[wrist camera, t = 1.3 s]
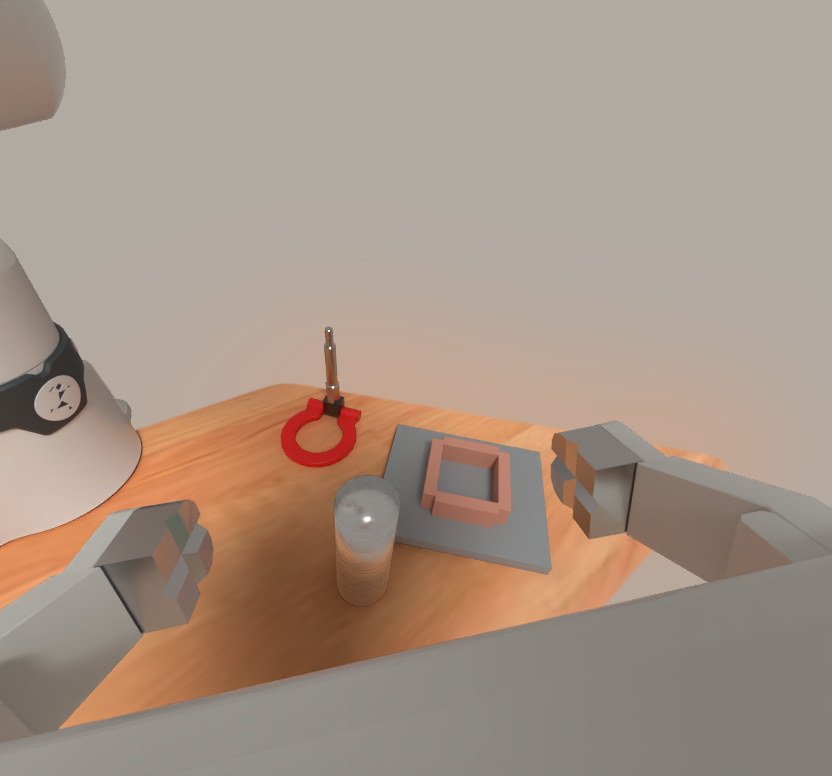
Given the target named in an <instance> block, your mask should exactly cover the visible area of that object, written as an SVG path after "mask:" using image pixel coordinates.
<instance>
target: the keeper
mask: <svg viewBox="0 0 832 776" xmlns="http://www.w3.org/2000/svg"><path fill="white" fill-rule="evenodd" d="M383 479H385V480H387V481H388V482H389V483H391V484H392V485H393V486H394V488H395V489H396V491H397V493H398V495H399V499H400V508H399V515H398V521H397V527H396V534H395V540H394V542H397V543H402V544H406V545H411V546H416V547H421V548H425V549H430V550H435V551H439V552H444V553H449V554H453V555H458V556H463V557H467V558H472V559H477V560H481V561H486V562H491V563H496V564H500V565H505V566H510V567H514V568H519V569H524V570H528V571H533V572H538V573H542V574H548V573H549V572H550V570H551V569H552V567H551V558H550V548H549V538H548V529H547V519H546V509H545V499H544V490H543V480H542V470H541V461H540V452H536V451H531V450H526V449H521V448H516V447H511V446H506V445H500V444H495V443H490V442H485V441H480V440H475V439H470V438H465V437H460V436H455V435H450V434H445V433H440V432H435V431H430V430H425V429H420V428H415V427H410V426H405V425H400V424H398V427H397V431H396V434H395V438H394V442H393V445H392V449H391V452H390V456H389V460H388V463H387V467H386V471H385V474H384V478H383Z"/></svg>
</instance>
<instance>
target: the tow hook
mask: <svg viewBox="0 0 832 776" xmlns="http://www.w3.org/2000/svg"><path fill="white" fill-rule="evenodd" d="M325 337H326V343H325V345H324V350H325V363H326V376H327V382H326V392H327V395H326V397H325V398H324V400H323V401H321V400H317V399H313V398H310V399H309V400H308V403H307V408H306V410H304V411H301V412H300V413H298V414H296V415H295V416H293V417H292V418H291V419H290V420H289V421H288V422H287V423H286V425H285V426H284V428H283V430H282V434H281V444H282V448H283V450H284V452H285V454H286V455H287V456H288V457H289V458H290V459H291V460H292V461H294V462H296V463H298V464H300V465H304V466H308V467H324V466H329V465H332V464H334V463H336V462H339V461H340V460H342V459H343V458H345V457H346V456H347V455H348V454H349V453H350V451H351V450H352V449H353V447H354V444H355V442H356V428H355V423H356V422H358V421H359V419H360V417H361V411H359V410H355V409H351V408H348V407H344V397H341V396H340V392H339V383H338V381H337V365H336V346H335V343H333V329H332V328H331V327H326V328H325ZM323 413H324V414H326V415H330V416H334V417H338V420H337V422H338V425H339V426H340V428H341V429H342V431H343V437H342V439H341V441H340V443H339V444H338V445H337V446H336V447H334V448H333V449H331V450H328V451H326V452H321V453H312V452H308V451H305V450H303V449H301V448H300V447H299V446H298V445H297V443H296V441H295V437H296V434H297V432H298V430H299V429H300V428H301V427H302V426H303V425H305V424H306V423H308V422H311V421H313V420H318V419H320V418H321V416H322V414H323Z"/></svg>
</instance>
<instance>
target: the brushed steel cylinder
mask: <svg viewBox="0 0 832 776" xmlns="http://www.w3.org/2000/svg"><path fill="white" fill-rule="evenodd" d="M399 508H400V499H399V495H398V493H397V491H396V489H395V488H394V486H393V485H392V484H391V483H389V482H388V481H387V480H385V479H383V478H380V477H377V476H372V475H364V476H358V477H355V478H353V479H350V480H349V481H347V482H346V483H344V484H343V485H342V486H341V488H340V489H339V490H338V492H337V494H336V497H335V501H334V512H335V540H336V567H337V587H338V591H339V593H340V595H341V597H342V598H343V599H344V600H345V601H346V602H347V603H349V604H351V605H353V606H357V607H365V606H370V605H372V604H374V603H376V602H377V601H378V600H379V599H380V598H381V597H382V596H383V595H384V593H385V591H386V589H387V585H388V579H389V572H390V566H391V559H392V553H393V547H394V540H395V534H396V527H397V521H398V515H399Z"/></svg>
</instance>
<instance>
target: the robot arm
mask: <svg viewBox="0 0 832 776" xmlns="http://www.w3.org/2000/svg"><path fill="white" fill-rule="evenodd" d="M65 78H66V68H65V58H64V53H63V48H62V44H61V41H60V38H59V35H58V32H57V29H56V27H55V24H54V22H53V19H52V17H51V15H50V13H49V11H48V8H47V7H46V5H45V3H44V1H43V0H0V131H1V130H6V129H11V128H15V127H19V126H23V125H27V124H31V123H35V122H38V121H42V120H47V119H50V118H52V117H53V116H54V114H55V113H56V111H57V109H58V107H59V105H60V102H61V100H62V98H63V93H64V88H65ZM77 351H78V350H77V348H76V346H75V344H74V342H73V341H72V340H71V339H70V338H69V337H68V336H67V334H66V333H65V331H64V329H63V328H62V327H60V325H58V324H56V323H54V322H53V321H52V320H51V318H50V316H49V314H48V312H47V311H46V309H45V307H44V305H43V303H42V302H41V300H40V298H39V296H38V294H37V293H36V291H35V289H34V287H33V285H32V284H31V282H30V280H29V278H28V276H27V275H26V273H25V271H24V269H23V268H22V266H21V264H20V262H19V261H18V259H17V257H16V255H15V253H14V252H13V251H12V250H11V248H10V247H8V245H7V244H6V243H5V242H3V241H2V240H1V239H0V546H1V545H3V544H5V543H7V542H9V541H11V540H14V539H17V538H20V537H24V536H27V535H31V534H35V533H39V532H42V531H46V530H49V529H52V528H55V527H57V526H60V525H62V524H65V523H67V522H69V521H72V520H74V519H76V518H78V517H80V516H82V515H84V514H85V513H87V512H89V511H90V510H92V509H94V508H95V507H97V506H98V505H100V504H101V503H103V502H104V501H105V500H107V499H108V498H109V497H110V496H112V495H113V494H114V493H115V492H116V491H117V490H118V489H119V488H120V487H121V486H122V485H123V484H124V483H125V482H126V481H127V479H128V478H129V477H130V475H131V474H132V473H133V471H134V469H135V468H136V466H137V463H138V461H139V458H140V454H141V441H140V438H139V436H138V434H137V432H136V431H135V430H134V428H133V427H132V425H131V423H130V420H131V408H130V407H129V405H128V404H127V402H126V401H124V400H118V399H115V398H114V396H113V395H112V393H111V392H110V390H109V389H108V387H107V386H106V385H105V383H104V382H103V380H102V379H101V377H100V376H99V375H98V373H97V372H96V371H95V369H94V368H93V366H92V365H91V364H90V363H89V362H88V361H86V360H81V358H80V356H79V354H78V352H77ZM552 450H553V451H554V453H555V454H556V455H557V457H556V458H555V460H554V461H553V463H552V464H551V479H552V483H553V488H554V490H555V492H556V494H557V496H558V498H559V499H560V501H561V502H562V503H563V504H564V505H566V506H568V507H570V508H573V518H574V520H575V521H576V523H577V524H578V525H579V527H580V528H581V529H582V531H583V532H584V533H585V535H586V536H587V537H588V539H593V538H599V537H604V536H610V535H615V534H621V533H627V535H628V536H630V537H632V538H634V539H635V540H637V541H639V542H640V543H642V544H644V545H645V546H647V547H649V548H651V549H652V550H654V551H656V552H657V553H659V554H661V555H663V556H664V557H666V558H668V559H669V560H671V561H673V562H675V563H676V564H678V565H680V566H681V567H683V568H685V569H686V570H688V571H690V572H692V573H693V574H695V575H697V576H698V577H700V578H702V579H703V580H705V581H707V582H708V583H704V584H700V585H695V586H691V587H686V588H682V589H677V590H673V591H668V592H664V593H660V594H655V595H651V596H646V597H642V598H637V599H633V600H629V601H625V602H620V603H615V604H611V605H606V606H602V607H598V608H593V609H589V610H584V611H580V612H576V613H571V614H567V615H562V616H558V617H553V618H549V619H545V620H540V621H536V622H531V623H527V624H522V625H518V626H514V627H509V628H505V629H500V630H496V631H492V632H487V633H483V634H478V635H474V636H469V637H465V638H461V639H456V640H452V641H447V642H443V643H439V644H434V645H430V646H425V647H421V648H416V649H412V650H408V651H403V652H399V653H394V654H390V655H386V656H381V657H377V658H372V659H368V660H364V661H359V662H355V663H350V664H346V665H341V666H337V667H333V668H328V669H324V670H319V671H315V672H311V673H306V674H302V675H297V676H293V677H289V678H284V679H280V680H275V681H271V682H266V683H262V684H258V685H253V686H249V687H244V688H240V689H236V690H231V691H227V692H222V693H218V694H214V695H209V696H205V697H200V698H196V699H191V700H187V701H183V702H178V703H174V704H169V705H165V706H161V707H156V708H152V709H147V710H143V711H139V712H134V713H130V714H125V715H121V716H117V717H112V718H108V719H103V720H99V721H94V722H90V723H86V724H81V725H77V726H72V727H68V728H64V729H59V728H60V726H61V725H62V724H63V723H64V722H65V721H66V720H67V719H68V718H69V717H70V715H71V714H72V713H73V712H74V711H75V710H76V709H77V708H78V707H79V706H80V705H81V703H82V702H83V701H84V700H85V699H86V698H87V697H88V696H89V695H90V694H91V692H92V691H93V690H94V689H95V688H96V687H97V686H98V685H99V684H100V683H101V682H102V680H103V679H104V678H105V677H106V676H107V675H108V674H109V673H110V672H111V671H112V669H113V668H114V667H115V666H116V665H117V664H118V663H119V662H120V661H121V660H122V659H123V657H124V656H125V655H126V654H127V653H128V652H129V651H130V650H131V649H132V648H133V646H134V645H135V644H136V643H137V642H138V641H139V640H140V639H141V638H142V636H143V635H142V634H144V633H149V632H153V631H157V630H161V629H165V628H170V627H174V626H178V625H182V624H187V623H189V620H190V618H191V615H192V613H193V610H194V608H195V605H196V603H197V600H198V598H199V595H200V592H199V590H198V587H197V584H198V583H199V582H200V581H201V580H202V579H203V578H205V577H206V576H207V575H208V572H209V569H210V566H211V564H212V555H213V547H212V541H211V537H210V535H209V532H208V530H207V529H205V528H204V527H202V526H200V525H199V524H197V521H198V519H199V516H200V512H199V510H198V508H197V506H196V504H195V502H193V501H191V500H182V501H176V502H170V503H163V504H157V505H151V506H145V507H140V508H133V509H127V510H122V511H117V512H114V513H112V514H110V515H108V516H107V518H106V519H105V520H104V521H103V522H102V524H101V525H100V526H99V527H98V529H97V530H96V531H95V532H94V534H93V535H92V536H91V537H90V539H89V540H88V541H87V542H86V543H85V545H84V546H83V547H82V548H81V550H80V551H79V552H78V553H77V555H76V556H75V557H74V558H73V560H72V561H71V562H70V563H69V564H68V566H67V567H66V568H65V569H64V571H63V572H62V573H61V574H59V575H54V576H51V577H49V578H48V579H46V580H45V581H43V582H42V583H40V584H39V585H37V586H36V587H34V588H33V589H31V590H30V591H28V592H27V593H25V594H24V595H22V596H21V597H19V598H18V599H16V600H15V601H13V602H12V603H10V604H9V605H7V606H6V607H4V608H3V609H1V610H0V776H832V508H830V507H829V506H827V505H826V504H824V503H822V502H821V501H819V500H817V499H816V498H813V497H810V496H807V495H803V494H800V493H797V492H793V491H790V490H786V489H783V488H780V487H776V486H773V485H770V484H766V483H763V482H759V481H756V480H753V479H750V478H746V477H743V476H739V475H736V474H733V473H729V472H726V471H723V470H719V469H716V468H713V467H709V466H706V465H703V464H699V463H696V462H692V461H689V460H686V459H682V458H679V457H676V456H671V457H666V456H665V455H664V454H662V453H661V452H660V451H658V450H657V449H656V448H654V447H653V446H652V445H651V444H649V443H648V442H647V441H645V440H644V439H643V438H641V437H640V436H639V435H637V434H636V433H635V432H633V431H632V430H631V429H629V428H628V427H627V426H626V425H624V424H623V423H621V422H618V421H612V422H607V423H603V424H598V425H595V426H591V427H586V428H581V429H575V430H570V431H565V432H560V433H555V434H554V436H553V439H552ZM58 729H59V730H58Z"/></svg>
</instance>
